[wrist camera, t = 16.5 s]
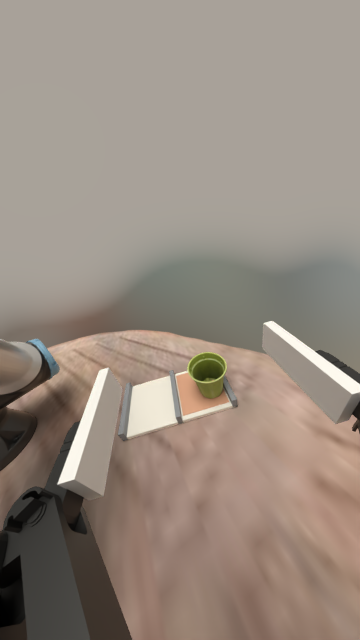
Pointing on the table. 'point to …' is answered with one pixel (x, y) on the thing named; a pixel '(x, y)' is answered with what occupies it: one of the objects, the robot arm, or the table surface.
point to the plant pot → (208, 373)
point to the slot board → (168, 404)
